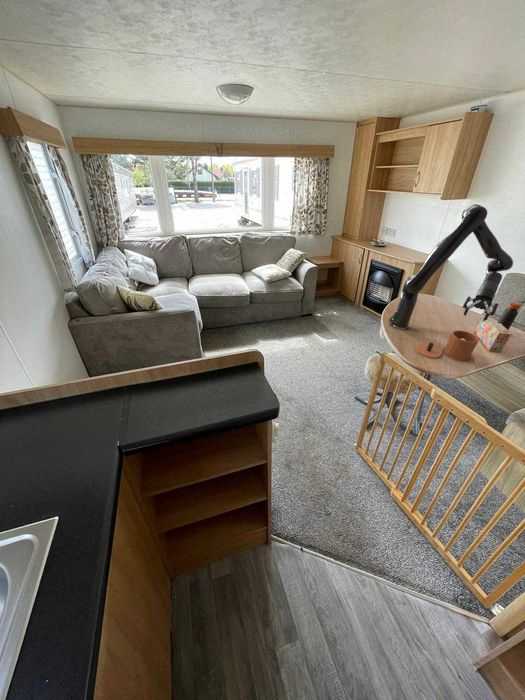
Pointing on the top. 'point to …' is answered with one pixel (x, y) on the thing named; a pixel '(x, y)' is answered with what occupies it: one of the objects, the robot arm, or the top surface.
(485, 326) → the colourful patterned box
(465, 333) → the pot
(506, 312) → the bottle
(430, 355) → the lid
